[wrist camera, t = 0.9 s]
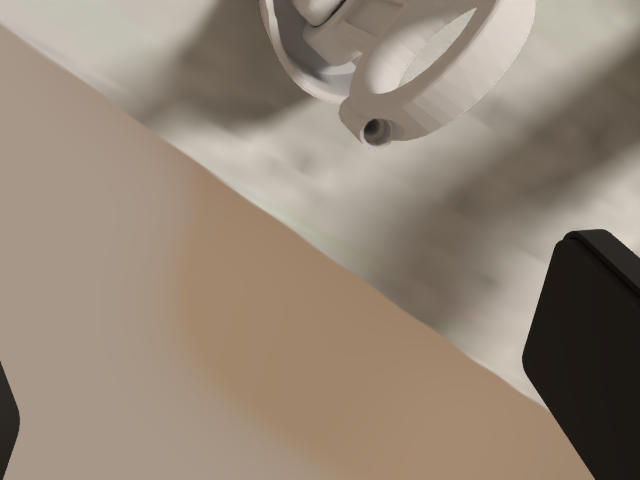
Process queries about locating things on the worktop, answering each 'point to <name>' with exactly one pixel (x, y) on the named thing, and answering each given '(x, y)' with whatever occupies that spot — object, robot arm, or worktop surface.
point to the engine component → (395, 58)
